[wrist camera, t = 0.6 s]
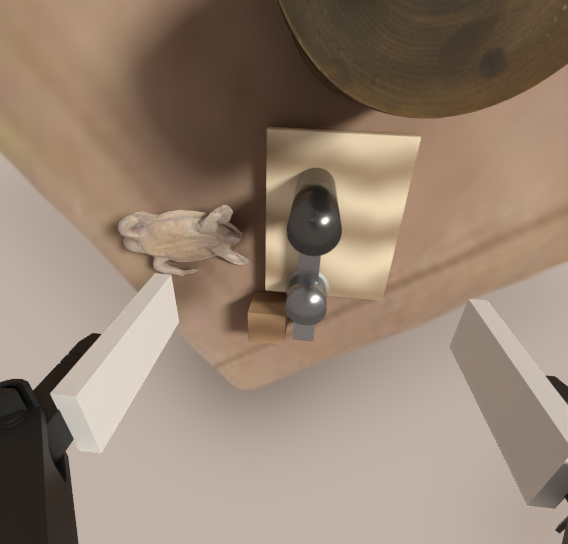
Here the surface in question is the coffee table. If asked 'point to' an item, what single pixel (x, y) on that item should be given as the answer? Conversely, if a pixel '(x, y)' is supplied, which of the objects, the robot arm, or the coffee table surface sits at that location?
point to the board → (340, 204)
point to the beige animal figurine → (182, 237)
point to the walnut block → (267, 318)
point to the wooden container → (430, 50)
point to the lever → (311, 247)
